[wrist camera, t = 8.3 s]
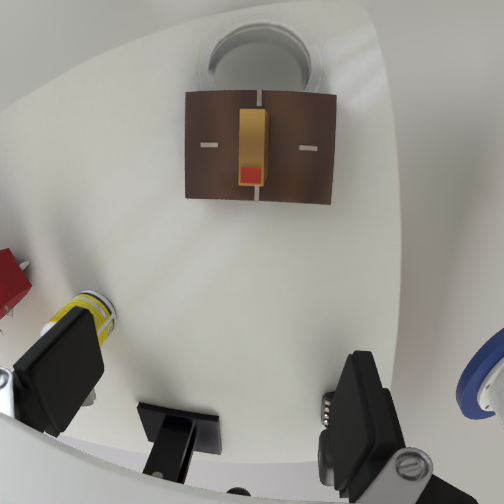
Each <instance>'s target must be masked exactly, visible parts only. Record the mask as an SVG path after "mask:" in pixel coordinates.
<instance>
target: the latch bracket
mask: <svg viewBox="0 0 504 504" xmlns="http://www.w3.org/2000/svg"><path fill="white" fill-rule="evenodd" d="M137 410H138V413H139V416H140V419H141V422H142V424H143V427H144V430H145V433H146V436H147V438H148V441H149V442H154V445H153V448H152V450H151V453H150V455H149V458H148V460H147V463H146V465H145V468H144V470H143V473H142V474H146V475H149V476H153V477H156V478H160V479H163V480H167V481H171V482H175V483H179V484H183V485H184V482H185V479H186V475H187V472H188V468H189V465H190V461H191V458H192V455H193V451H199V452H205V453H211V454H218V455H221V451H222V447H221V435H220V422H219V416H213V415H206V414H199V413H193V412H187V411H181V410H175V409H170V408H165V407H160V406H155V405H150V404H145V403H141V402H139V404H138V406H137Z"/></svg>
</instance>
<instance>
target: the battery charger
mask: <svg viewBox="0 0 504 504" xmlns="http://www.w3.org/2000/svg"><path fill="white" fill-rule="evenodd" d="M334 394H335V392H332V393H328V394H326V395H325V396H323V399H322V413H321V422H322V424H323V425H325V427H326V428H327V429H326V430H323V431H322V432H321V435H320V437H319V449H318V467H319V477H320V481H321V483H322V484H323V485H325V486H334V475H333V460H332V446H331V433H330V421H329V408H330V404H331V402H332V399H333V396H334Z"/></svg>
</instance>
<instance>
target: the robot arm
mask: <svg viewBox="0 0 504 504" xmlns="http://www.w3.org/2000/svg"><path fill="white" fill-rule="evenodd" d="M13 367H14V371H13V372H11V371H10V370H9V369H8V368H6V367H3V366H0V504H478V502H477V501H476V499H474V498H473V497H472V496H470V495H468V494H466V493H465V492H463V491H461V490H459V489H457V488H456V487H454V486H452V485H450V484H449V483H447V482H445V481H444V480H442V479H440V478H439V477H437V476H435V475H433V474H432V472H433V463H432V460H431V458H430V457H429V456H428V455H427V453H425V452H424V451H422V450H420V449H417V448H411V447H407V448H406V446H405V442H404V438H403V435H402V431H401V427H400V424H399V420H398V417H397V413H396V410H395V407H394V403H393V400H392V397H391V394H390V391H389V390H388V389H387V388H382V384H381V381H380V378H379V374H378V371H377V368H376V365H375V361H374V358H373V355H372V353H371V352H370V351H354V353H353V354H349V355H348V357H347V360H346V363H345V365H344V368H343V371H342V374H341V377H340V380H339V383H338V385H337V388H336V391H335V394H334V396H333V399H332V402H331V404H330V408H329V421H330V433H331V446H332V460H333V475H334V488H335V490H339V493H340V498H349V503H336V502H313V501H312V502H311V501H292V500H280V499H269V498H259V497H250V496H243V495H236V494H229V493H223V492H217V491H212V490H206V489H202V488H196V487H192V486H188V485H183V484H179V483H175V482H171V481H167V480H163V479H160V478H156V477H153V476H149V475H146V474H142V473H139V472H136V471H133V470H130V469H127V468H124V467H121V466H118V465H115V464H112V463H109V462H107V461H104V460H102V459H99V458H96V457H94V456H91V455H89V454H87V453H84V452H81V451H79V450H77V449H75V448H73V447H70V446H68V445H66V444H63V443H61V442H59V441H57V440H55V439H53V438H51V437H49V436H47V435H45V434H43V432H44V431H45V432H46V433H48V434H50V435H52V436H54V437H56V438H57V437H58V435H59V434H60V432H64V431H65V430H66V428H67V427H68V425H69V424H70V422H71V421H72V419H73V418H74V416H75V415H76V413H77V412H78V410H79V409H80V407H81V406H82V404H83V403H84V401H85V400H86V398H87V397H88V395H89V394H90V392H91V391H92V389H93V388H94V387H95V385H96V384H97V382H98V381H99V379H100V378H101V376H102V375H103V373H104V363H103V359H102V355H101V350H100V346H99V341H98V336H97V331H96V326H95V321H94V316H93V314H91V312H90V310H89V309H87V308H83V307H79V306H74V307H73V308H72V309H71V310H69V311H68V312H67V313H66V314H65V315H64V316H63V317H62V318H61V319H60V320H59V321H58V322H57V323H56V324H54V325H53V326H52V327H51V328H50V329H49V330H48V331H47V332H46V333H45V334H44V335H43V336H42V337H41V338H40V339H39V340H38V341H37V342H36V343H35V344H34V345H33V346H32V347H31V348H30V349H29V350H28V351H27V352H26V353H25V354H24V355H23V356H22V357H21V358H20V359H19V360H18V361H17V362H16V363H15V364H14V365H13ZM477 401H478V404H479V405H480V407H481V409H483V410H485V411H494V412H495V414H496V416H497V417H498V419H499V421H500V423H501V425H502V427H503V429H504V357H503V358H502V359H501V360H500V361H499V362H498V363H497V364H496V365H495V366H494V367H493V368H492V369H491V371H490V372H489V373H488V375H487V376H486V377H485V379H484V381H483V382H482V384H481V386H480V389H479V391H478V395H477Z"/></svg>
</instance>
